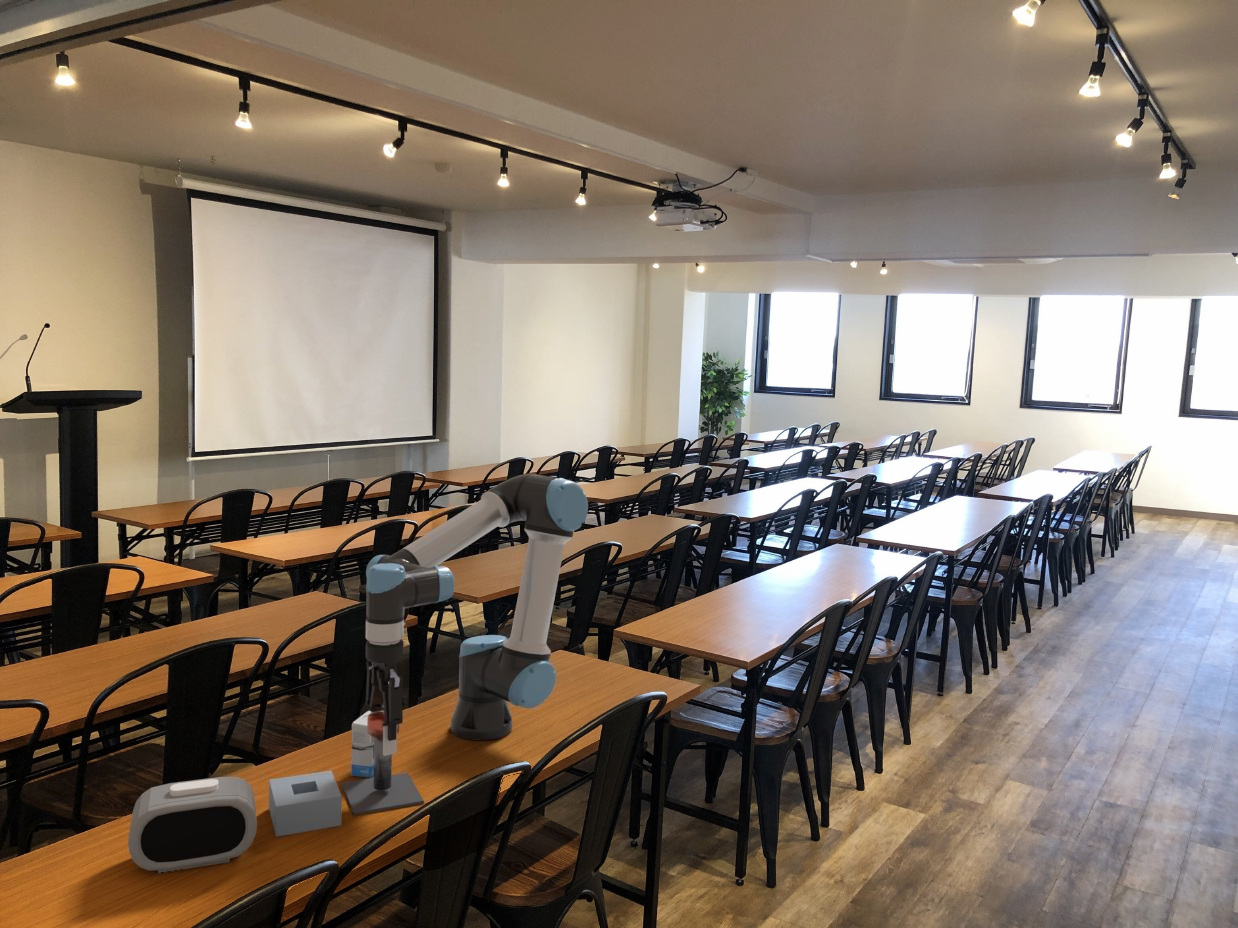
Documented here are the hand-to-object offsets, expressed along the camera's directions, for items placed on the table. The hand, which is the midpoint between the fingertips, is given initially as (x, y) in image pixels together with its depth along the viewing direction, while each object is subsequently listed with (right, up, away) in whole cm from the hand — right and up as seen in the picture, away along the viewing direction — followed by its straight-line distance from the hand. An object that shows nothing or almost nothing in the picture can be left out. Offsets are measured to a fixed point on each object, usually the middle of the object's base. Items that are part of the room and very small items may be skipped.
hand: (383, 747), depth 193 cm
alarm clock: (-27, -12, -26) cm, 39 cm away
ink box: (-6, -9, +13) cm, 17 cm away
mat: (0, -10, +1) cm, 10 cm away
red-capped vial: (0, -8, +1) cm, 8 cm away
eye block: (-13, -11, -10) cm, 19 cm away
